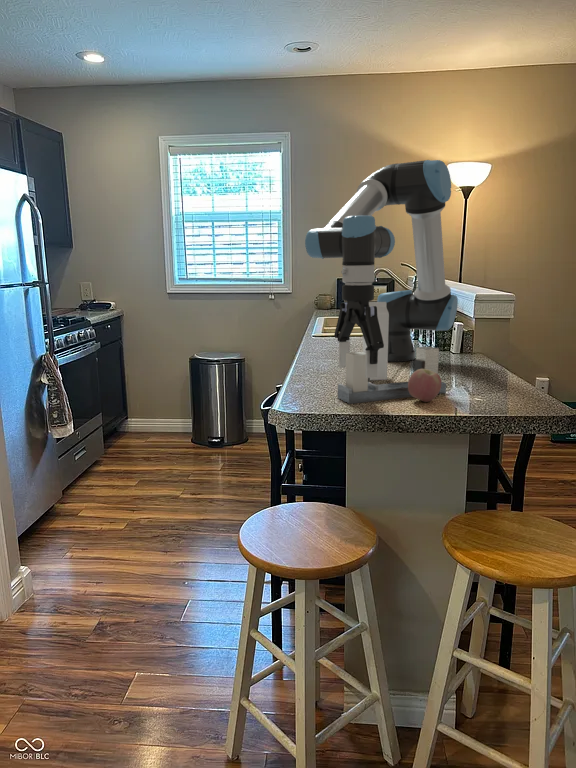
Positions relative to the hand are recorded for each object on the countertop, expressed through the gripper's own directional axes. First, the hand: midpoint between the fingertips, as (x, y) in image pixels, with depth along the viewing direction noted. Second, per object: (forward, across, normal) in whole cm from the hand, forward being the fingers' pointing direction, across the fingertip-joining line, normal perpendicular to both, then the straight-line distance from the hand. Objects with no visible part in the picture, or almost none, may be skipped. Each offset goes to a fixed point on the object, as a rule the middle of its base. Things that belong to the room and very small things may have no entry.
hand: (357, 372), depth 138 cm
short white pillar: (+4, 0, 0) cm, 4 cm away
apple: (+7, +9, +14) cm, 18 cm away
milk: (+7, -21, +17) cm, 28 cm away
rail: (+7, 0, +10) cm, 12 cm away
